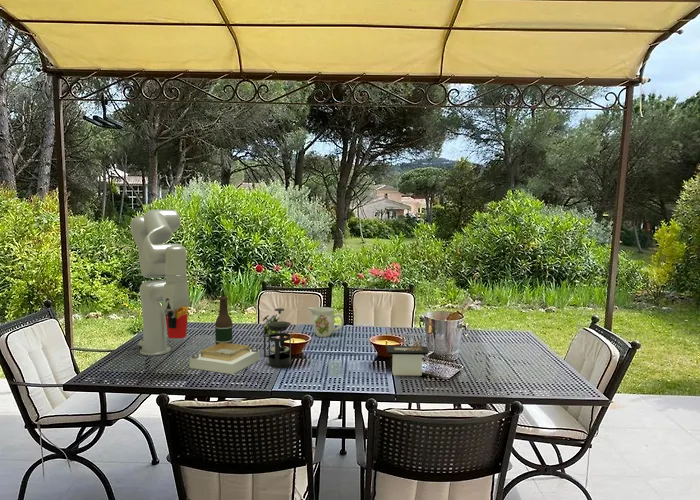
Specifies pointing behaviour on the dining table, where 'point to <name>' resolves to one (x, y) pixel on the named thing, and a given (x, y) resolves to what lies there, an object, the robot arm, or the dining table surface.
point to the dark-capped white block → (407, 359)
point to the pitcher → (324, 321)
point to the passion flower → (272, 319)
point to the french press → (278, 344)
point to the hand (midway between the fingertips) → (177, 325)
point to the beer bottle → (223, 323)
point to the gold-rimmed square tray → (225, 358)
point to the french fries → (178, 324)
